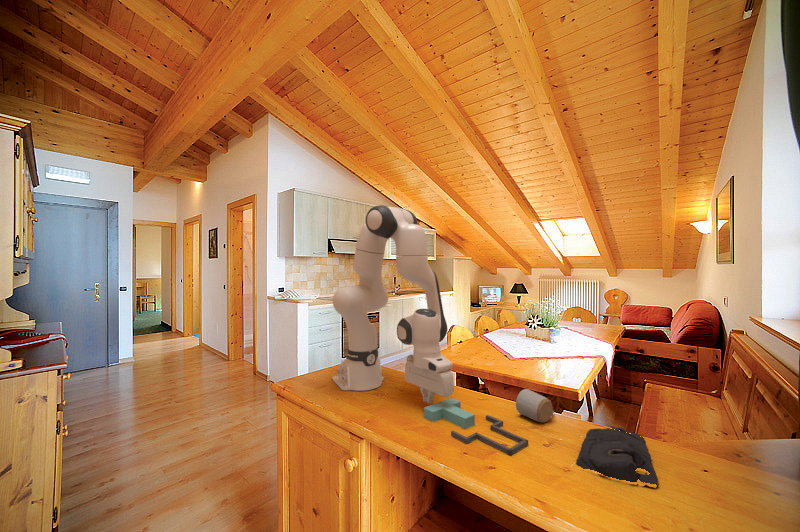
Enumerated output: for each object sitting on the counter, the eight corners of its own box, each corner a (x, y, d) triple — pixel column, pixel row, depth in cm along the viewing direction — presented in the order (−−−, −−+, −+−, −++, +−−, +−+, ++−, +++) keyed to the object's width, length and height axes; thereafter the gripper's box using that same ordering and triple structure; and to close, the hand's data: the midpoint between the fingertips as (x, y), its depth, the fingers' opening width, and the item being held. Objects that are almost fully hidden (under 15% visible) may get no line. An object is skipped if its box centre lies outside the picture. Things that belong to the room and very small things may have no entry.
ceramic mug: (538, 427, 95) (538, 399, 95) (515, 416, 102) (515, 390, 102) (561, 418, 101) (561, 392, 101) (537, 408, 108) (537, 384, 108)
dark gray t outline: (451, 435, 91) (450, 431, 91) (487, 418, 101) (487, 414, 101) (500, 461, 79) (500, 456, 79) (536, 439, 88) (536, 435, 88)
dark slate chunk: (655, 446, 85) (654, 428, 85) (659, 496, 67) (658, 472, 67) (586, 430, 94) (585, 413, 94) (573, 470, 76) (572, 449, 76)
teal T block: (423, 417, 103) (423, 407, 103) (451, 406, 110) (451, 397, 110) (455, 433, 93) (455, 423, 93) (483, 420, 100) (483, 410, 100)
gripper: (399, 355, 117) (400, 395, 117) (442, 368, 100) (443, 415, 100) (413, 351, 120) (414, 390, 120) (456, 364, 104) (457, 409, 104)
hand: (427, 401), depth 110 cm, fingers closed
